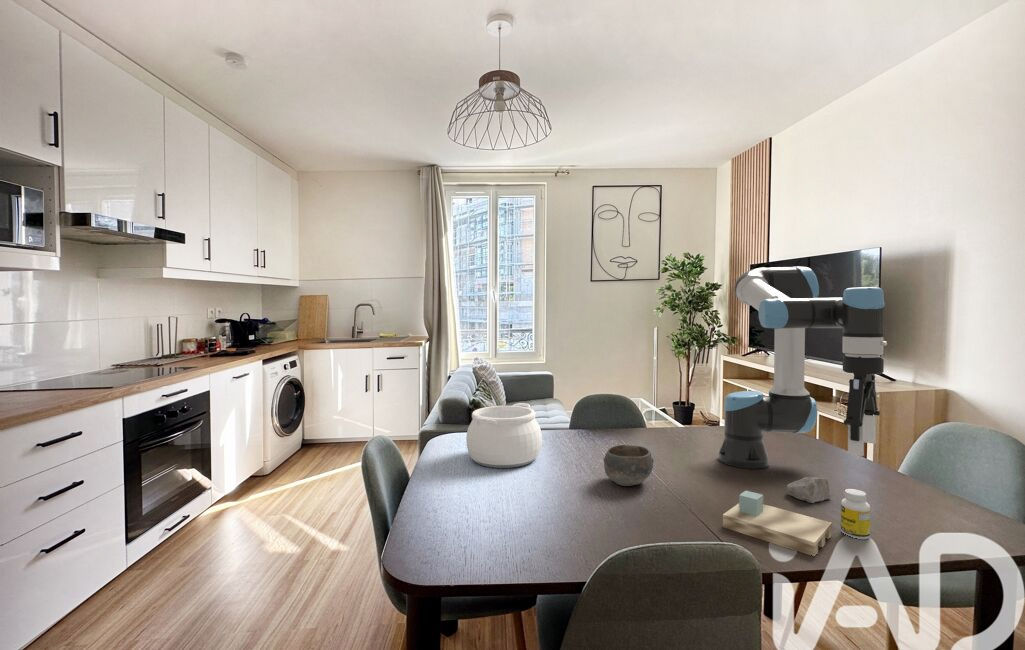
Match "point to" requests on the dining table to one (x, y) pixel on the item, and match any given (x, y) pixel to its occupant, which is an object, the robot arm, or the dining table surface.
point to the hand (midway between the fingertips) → (862, 448)
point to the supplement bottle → (855, 514)
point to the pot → (504, 436)
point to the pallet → (781, 528)
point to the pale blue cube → (751, 503)
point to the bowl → (628, 464)
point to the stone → (810, 489)
